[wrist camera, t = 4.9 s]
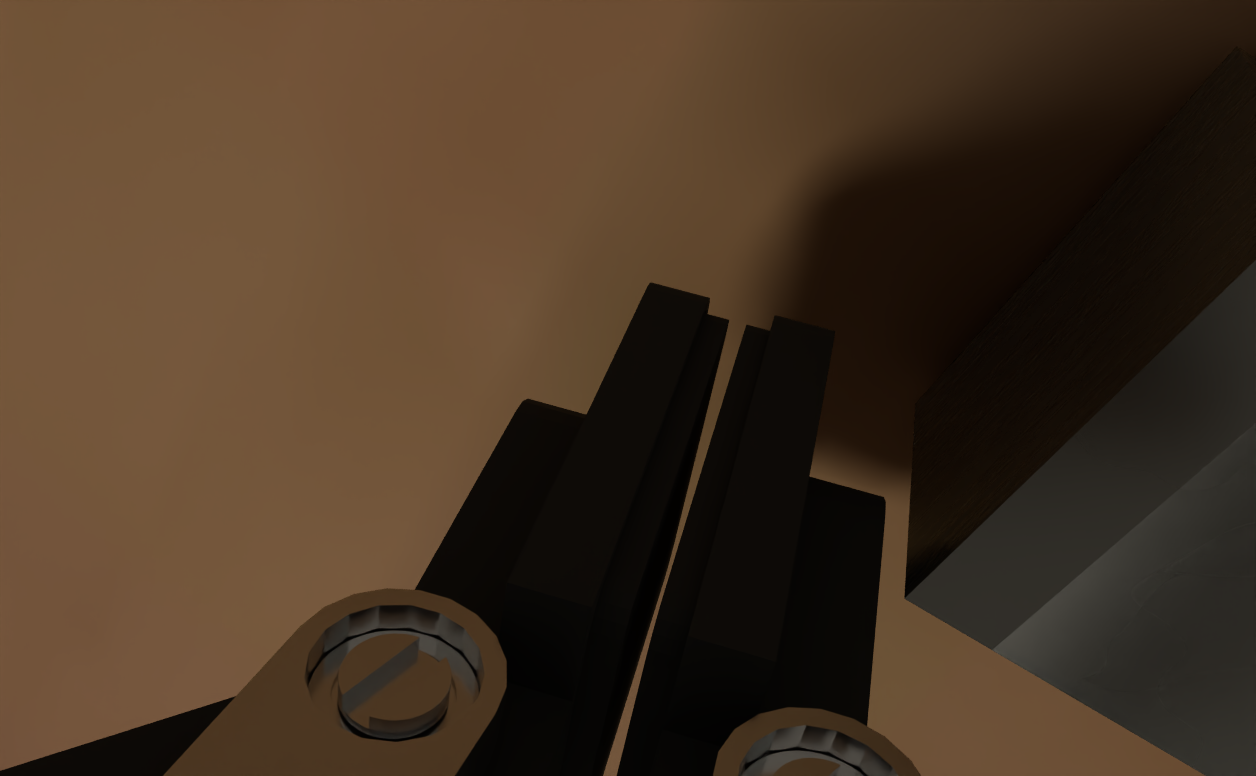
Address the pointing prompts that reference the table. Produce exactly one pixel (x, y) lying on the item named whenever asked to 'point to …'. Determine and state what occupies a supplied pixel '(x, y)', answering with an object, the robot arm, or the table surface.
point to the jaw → (1117, 450)
